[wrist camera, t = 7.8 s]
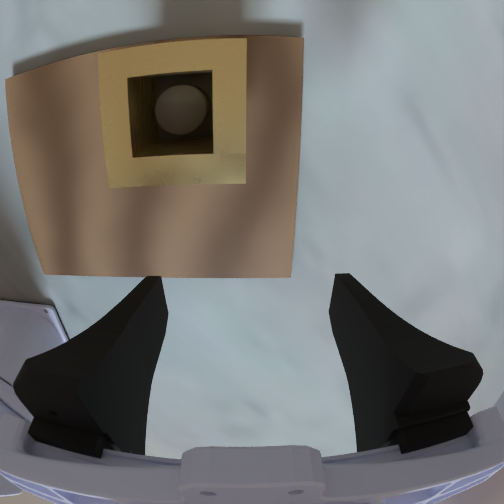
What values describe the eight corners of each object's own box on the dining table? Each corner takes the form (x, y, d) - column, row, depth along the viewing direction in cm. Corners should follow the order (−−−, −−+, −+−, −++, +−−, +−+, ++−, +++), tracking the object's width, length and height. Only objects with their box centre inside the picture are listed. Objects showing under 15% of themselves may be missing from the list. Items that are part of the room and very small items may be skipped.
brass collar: (138, 162, 16) (109, 188, 12) (131, 57, 13) (98, 53, 9) (245, 159, 16) (245, 183, 12) (246, 49, 13) (246, 38, 9)
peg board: (49, 267, 23) (15, 312, 18) (13, 78, 15) (-43, 88, 10) (289, 269, 24) (300, 325, 19) (300, 39, 16) (323, 23, 11)
